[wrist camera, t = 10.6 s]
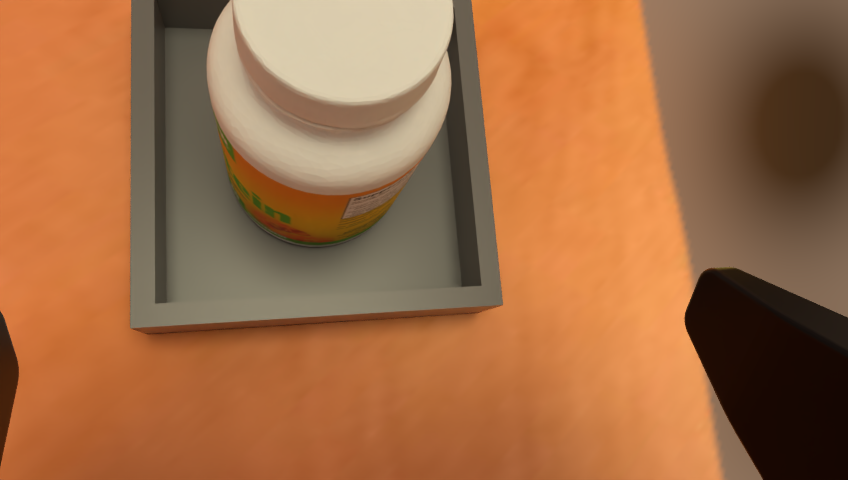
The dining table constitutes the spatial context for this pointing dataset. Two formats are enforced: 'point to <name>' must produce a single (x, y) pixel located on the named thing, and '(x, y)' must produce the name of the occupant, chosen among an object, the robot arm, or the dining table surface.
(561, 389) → the dining table surface
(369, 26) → the supplement bottle
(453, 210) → the charcoal tray
